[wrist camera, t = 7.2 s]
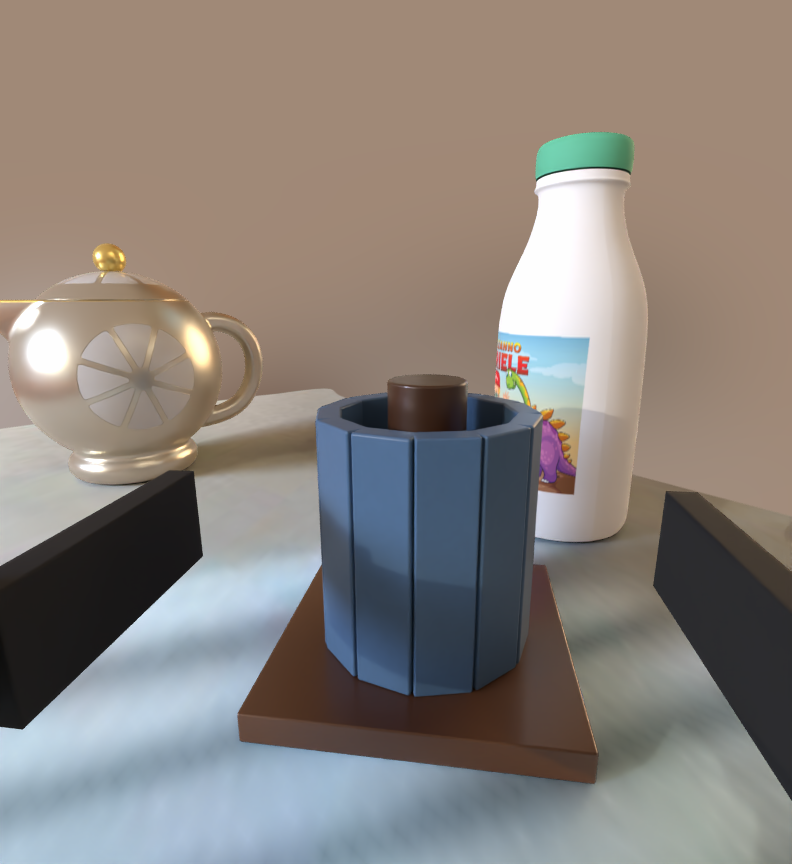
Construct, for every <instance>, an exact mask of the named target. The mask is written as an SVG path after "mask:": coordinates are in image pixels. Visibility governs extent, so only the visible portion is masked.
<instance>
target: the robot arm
mask: <svg viewBox="0 0 792 864" xmlns="http://www.w3.org/2000/svg"><path fill="white" fill-rule="evenodd" d="M202 556H203V553H202V544H201V534H200V525H199V516H198V507H197V498H196V489H195V479H194V471H177V470H169V471H167V472H165V473H164V474H162V475H160V476H158V477H156V478H155V479H153V480H151V481H149V482H148V483H146V484H144V485H142V486H141V487H139V488H137V489H135V490H134V491H132V492H130V493H128V494H127V495H125V496H123V497H121V498H120V499H118V500H116V501H114V502H112V503H111V504H109V505H107V506H105V507H104V508H102V509H100V510H98V511H97V512H95V513H93V514H91V515H90V516H88V517H86V518H84V519H83V520H81V521H79V522H77V523H76V524H74V525H72V526H70V527H68V528H67V529H65V530H63V531H61V532H60V533H58V534H56V535H54V536H53V537H51V538H49V539H47V540H46V541H44V542H42V543H40V544H39V545H37V546H35V547H33V548H32V549H30V550H28V551H26V552H24V553H23V554H21V555H19V556H17V557H16V558H14V559H12V560H10V561H9V562H7V563H5V564H3V565H2V566H0V727H6V728H15V729H24V728H25V727H26V726H27V725H28V724H29V723H30V722H31V721H32V720H33V719H34V718H35V717H36V716H37V715H38V714H39V713H40V712H41V711H42V710H43V709H44V708H45V707H47V706H48V705H49V704H50V703H51V702H52V701H53V700H54V699H55V698H56V697H57V696H58V695H59V694H60V693H61V692H62V691H63V690H64V689H65V688H66V687H67V686H68V685H69V684H70V683H71V682H73V681H74V680H75V679H76V678H77V677H78V676H79V675H80V674H81V673H82V672H83V671H84V670H85V669H86V668H87V667H88V666H89V665H90V664H91V663H92V662H93V661H94V660H95V659H96V658H97V657H98V656H100V655H101V654H102V653H103V652H104V651H105V650H106V649H107V648H108V647H109V646H110V645H111V644H112V643H113V642H114V641H115V640H116V639H117V638H118V637H119V636H120V635H121V634H122V633H123V632H124V631H126V630H127V629H128V628H129V627H130V626H131V625H132V624H133V623H134V622H135V621H136V620H137V619H138V618H139V617H140V616H141V615H142V614H143V613H144V612H145V611H146V610H147V609H148V608H149V607H150V606H152V605H153V604H154V603H155V602H156V601H157V600H158V599H159V598H160V597H161V596H162V595H163V594H164V593H165V592H166V591H167V590H168V589H169V588H170V587H171V586H172V585H173V584H174V583H175V582H176V581H177V580H179V579H180V578H181V577H182V576H183V575H184V574H185V573H186V572H187V571H188V570H189V569H190V568H191V567H192V566H193V565H194V564H195V563H196V562H197V561H198V560H199V559H200V558H201V557H202ZM653 586H654V588H655V589H656V591H657V592H658V594H659V595H660V597H661V598H662V600H663V602H664V603H665V605H666V606H667V608H668V609H669V611H670V612H671V614H672V616H673V617H674V619H675V620H676V622H677V623H678V625H679V626H680V628H681V630H682V631H683V633H684V634H685V636H686V637H687V639H688V640H689V642H690V643H691V645H692V647H693V648H694V650H695V651H696V653H697V654H698V656H699V657H700V659H701V661H702V662H703V664H704V665H705V667H706V668H707V670H708V671H709V673H710V675H711V676H712V678H713V679H714V681H715V682H716V684H717V685H718V687H719V689H720V690H721V692H722V693H723V695H724V696H725V698H726V699H727V701H728V702H729V704H730V706H731V707H732V709H733V710H734V712H735V713H736V715H737V716H738V718H739V720H740V721H741V723H742V724H743V726H744V727H745V729H746V730H747V732H748V734H749V735H750V737H751V738H752V740H753V741H754V743H755V744H756V746H757V748H758V749H759V751H760V752H761V754H762V755H763V757H764V758H765V760H766V761H767V763H768V765H769V766H770V768H771V769H772V771H773V772H774V774H775V775H776V777H777V779H778V780H779V782H780V783H781V785H782V786H783V788H784V789H785V791H786V793H787V794H788V796H789V797H790V799H791V800H792V572H791V571H790V570H789V569H788V568H786V567H785V566H784V565H783V564H782V563H780V562H779V561H778V560H777V559H776V558H775V557H773V556H772V555H771V554H770V553H769V552H767V551H766V550H765V549H764V548H763V547H762V546H760V545H759V544H758V543H757V542H756V541H754V540H753V539H752V538H751V537H750V536H748V535H747V534H746V533H745V532H744V531H743V530H741V529H740V528H739V527H738V526H737V525H735V524H734V523H733V522H732V521H731V520H730V519H728V518H727V517H726V516H725V515H724V514H722V513H721V512H720V511H719V510H718V509H716V508H715V507H714V506H713V505H712V504H711V503H709V502H708V501H707V500H706V499H705V498H703V497H702V496H701V495H700V494H699V493H698V492H674V491H666V495H665V503H664V510H663V517H662V525H661V532H660V540H659V547H658V555H657V562H656V569H655V577H654V584H653Z"/></svg>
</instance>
